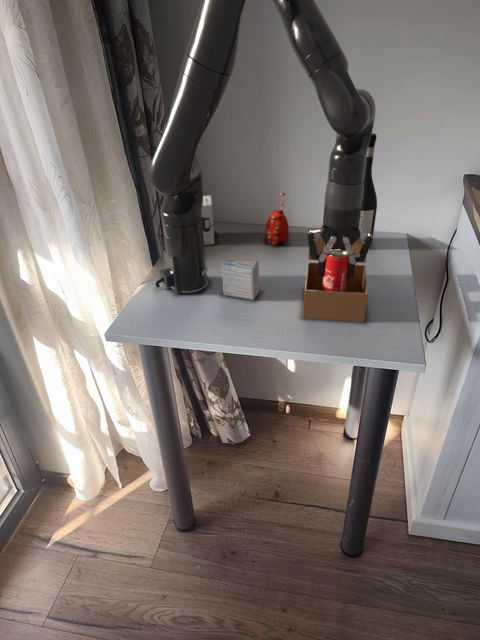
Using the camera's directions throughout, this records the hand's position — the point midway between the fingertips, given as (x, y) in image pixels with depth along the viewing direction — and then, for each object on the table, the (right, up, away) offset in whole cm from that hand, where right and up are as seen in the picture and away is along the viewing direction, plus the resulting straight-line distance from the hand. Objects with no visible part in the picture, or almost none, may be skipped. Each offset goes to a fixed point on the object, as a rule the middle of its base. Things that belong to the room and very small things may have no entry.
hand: (335, 276), depth 107 cm
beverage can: (0, -5, +4) cm, 6 cm away
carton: (+1, -6, +6) cm, 9 cm away
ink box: (-33, +17, +37) cm, 52 cm away
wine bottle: (+12, +14, +33) cm, 38 cm away
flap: (+1, +8, +6) cm, 10 cm away
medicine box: (-21, -3, +11) cm, 24 cm away
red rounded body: (-12, +15, +35) cm, 40 cm away
